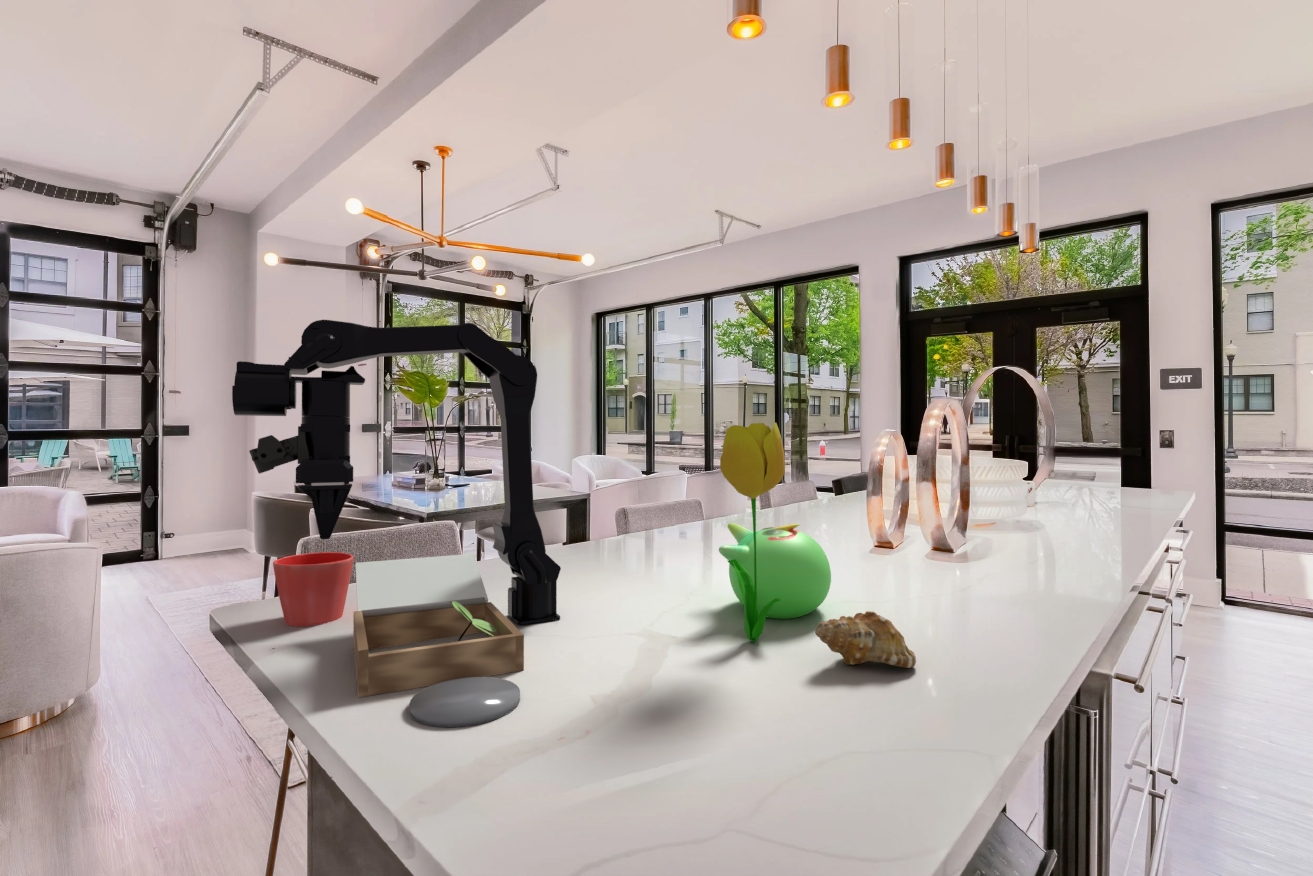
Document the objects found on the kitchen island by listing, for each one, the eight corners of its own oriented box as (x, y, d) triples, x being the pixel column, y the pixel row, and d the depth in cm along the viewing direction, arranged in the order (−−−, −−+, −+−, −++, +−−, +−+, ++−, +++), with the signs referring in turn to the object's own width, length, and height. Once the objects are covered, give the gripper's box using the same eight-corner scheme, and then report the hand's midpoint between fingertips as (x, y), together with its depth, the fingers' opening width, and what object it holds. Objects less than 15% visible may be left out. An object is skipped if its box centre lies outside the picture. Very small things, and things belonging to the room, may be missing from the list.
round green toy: (837, 635, 90) (837, 531, 90) (718, 630, 92) (717, 529, 92) (824, 604, 107) (824, 517, 107) (725, 600, 110) (724, 515, 110)
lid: (473, 614, 101) (473, 553, 101) (488, 633, 91) (488, 565, 91) (355, 629, 93) (355, 562, 93) (357, 650, 83) (358, 576, 83)
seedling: (480, 683, 81) (511, 637, 82) (441, 669, 74) (476, 620, 76) (448, 654, 85) (478, 611, 86) (408, 639, 78) (441, 593, 80)
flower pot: (320, 633, 91) (320, 565, 91) (255, 628, 93) (256, 562, 94) (368, 613, 102) (368, 553, 102) (308, 610, 104) (309, 551, 104)
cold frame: (490, 631, 92) (490, 596, 92) (523, 670, 76) (523, 628, 76) (353, 649, 84) (353, 611, 84) (358, 697, 68) (358, 650, 68)
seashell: (887, 707, 71) (841, 632, 71) (839, 696, 78) (798, 628, 78) (933, 655, 75) (890, 584, 75) (883, 649, 82) (844, 584, 82)
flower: (792, 641, 87) (791, 422, 87) (778, 659, 80) (777, 420, 80) (732, 633, 91) (731, 423, 91) (713, 650, 83) (712, 422, 84)
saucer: (506, 677, 73) (506, 670, 73) (532, 713, 64) (532, 705, 64) (404, 694, 68) (404, 687, 68) (416, 736, 59) (416, 727, 59)
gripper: (262, 418, 89) (261, 529, 89) (245, 412, 72) (244, 549, 72) (350, 420, 94) (349, 525, 94) (353, 414, 77) (353, 542, 77)
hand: (325, 534), depth 84 cm, fingers open, 9 cm apart
